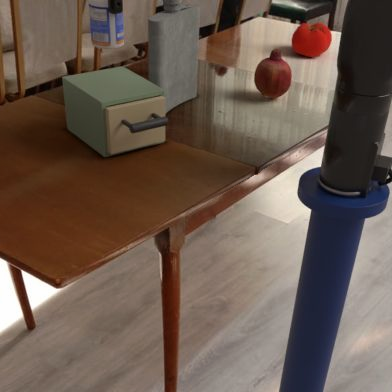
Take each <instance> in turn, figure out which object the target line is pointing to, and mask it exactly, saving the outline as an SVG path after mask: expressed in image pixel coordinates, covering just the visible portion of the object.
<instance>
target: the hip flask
mask: <svg viewBox="0 0 392 392" xmlns="http://www.w3.org/2000/svg"><path fill="white" fill-rule="evenodd" d="M182 1H183V0H162V3H163V9H164V10H161V11H158V12H156V13H154V14H152V15H151V16H149V17H148V18H147V43H148V44H147V45H148V47H147V49H148V50H147V51H148V81H150V82H151V83H153V84H155V85H157V86H159V87H160V88H162V89H164V90H165V94H164V95H165V98H166V102H165V115H166V114H167V113H168V112H169V111H171V110H172V109H174V108H175V107H177V106H179V105H181V104H183V103H185V102H187V101H189V100H193V99H195V98H197V93H198V69H199V68H198V67H199V43H200V42H199V41H200V18H201V17H200V16H201V15H200V14H201V13H200V12H201V5H200V4H198V3H182Z"/></svg>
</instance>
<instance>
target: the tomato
mask: <svg viewBox="0 0 392 392" xmlns="http://www.w3.org/2000/svg"><path fill="white" fill-rule="evenodd" d="M332 40H333V36H332V32H331V30H330V28H329V27H327V25H326V24H324V23H323V22H316V23H314V24H311V25H310V24H309V23H305V22H302V23H301V24H299V25H298V26H297V28H296V29H295V30H294V31H293V33H292V37H291V47H292V50H294V52H295V53H297V54H298V55H301V56H305V57H311V58H312V57H313V58H314V57H317V56H319V55H321V54H323V53H325V52H327V51H328V50H329V48H330V46H331V44H332Z"/></svg>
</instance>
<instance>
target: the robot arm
mask: <svg viewBox="0 0 392 392" xmlns="http://www.w3.org/2000/svg"><path fill="white" fill-rule="evenodd" d="M123 1H124V0H108V10H109V13H111V14H119V13H122V11H123V12H124V2H123ZM336 70H337V75H336V81H335V86H334V92H333V98H332V103H331V108H330V115H329V121H328V124H327V125H328V126H327V131H326V137H325V141H324V142H325V143H324V148H323V152H322V158H321V165H320V167H321V169H320V173H319V177H318V185H319V187H320V188H321V189H322V190H323V191H325V192H327V193H329V194H332V195H335V196H339V197H345V198H357V197H360V198H366V197H367V196H368V194H369V192H370V191H371V188H372V186H373V184H374V181H377V182H378V185H379V186H382V185H386V184H387V185H389V184H391V183H392V156H387V155H383V154H382V151H383V147H384V143H385V140H386V139H385V138H386V132H385V130H386V126H387V122H388V119H389V118H388V117H389V115H390V110H391V105H392V0H347V2H346V5H345V10H344V14H343V19H342V25H341V31H340V38H339V43H338V50H337V57H336Z"/></svg>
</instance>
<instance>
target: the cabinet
mask: <svg viewBox="0 0 392 392" xmlns="http://www.w3.org/2000/svg"><path fill="white" fill-rule="evenodd" d="M61 80H62V91H63V100H64V101H63V102H64V110H65V120H66V129H67V130H68V131H69V132H70V133H72V134H73V135H74V136H76V137H77V138H78V139H80V140H81V141H82V142H84V143H85V144H87V145H88V146H89V147H90V148H92V149H93V150H94V151H95V152H97V153H98V154H100V155H101V156H102V157H103V158H108V157H112V156H116V155H120V154H125V153H128V152H132V151H136V150H139V149H143V148H147V147H152V146H156V145H160V144H164V143H165V141H162V142H158V143H154V144H150V145H146V146H142V147H138V148H134V149H130V150H126V151H122V152H118V153H114V154H110V153H109V152H108V148H107V131H106V113H105V108H106V106H111V105H115V104H120V103H125V102H130V101H135V100H139V99H144V98H149V97H158V96H163V97H165V95H164V94H165V90H164V89H162V88H160V87H159V86H157V85H155V84H153V83H151V82H150V81H149V79H146V78H145V77H143V76H141V75H139V74H137V73H135V72H134V71H132V70H130V69H129V68H126V67H125V66H122V65H121V66H115V67H110V68H105V69H99V70H93V71H87V72H82V73H75V74H70V75H65V76H62V77H61Z"/></svg>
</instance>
